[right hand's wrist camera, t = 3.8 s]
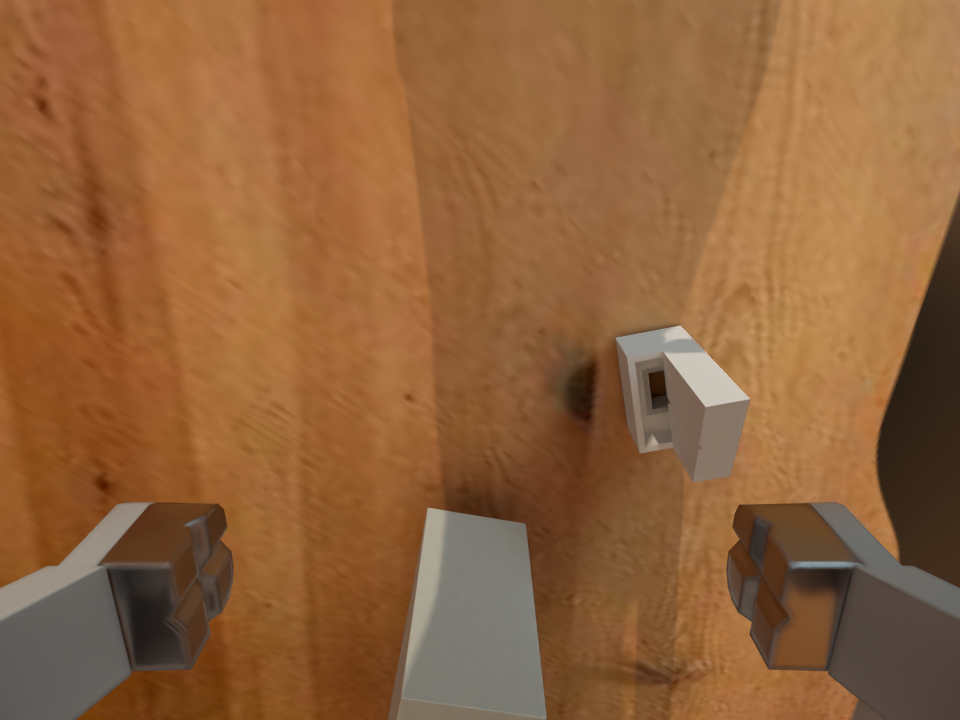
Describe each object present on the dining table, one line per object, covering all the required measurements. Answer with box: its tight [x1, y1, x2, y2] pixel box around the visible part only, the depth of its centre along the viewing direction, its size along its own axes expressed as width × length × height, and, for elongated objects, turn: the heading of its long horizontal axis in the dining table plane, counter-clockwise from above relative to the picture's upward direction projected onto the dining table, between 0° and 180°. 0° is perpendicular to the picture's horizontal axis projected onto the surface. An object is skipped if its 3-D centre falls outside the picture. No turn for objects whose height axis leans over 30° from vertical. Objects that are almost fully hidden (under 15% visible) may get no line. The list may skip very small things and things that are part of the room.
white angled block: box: [615, 326, 750, 482], centre depth 33 cm, size 4×10×9 cm
